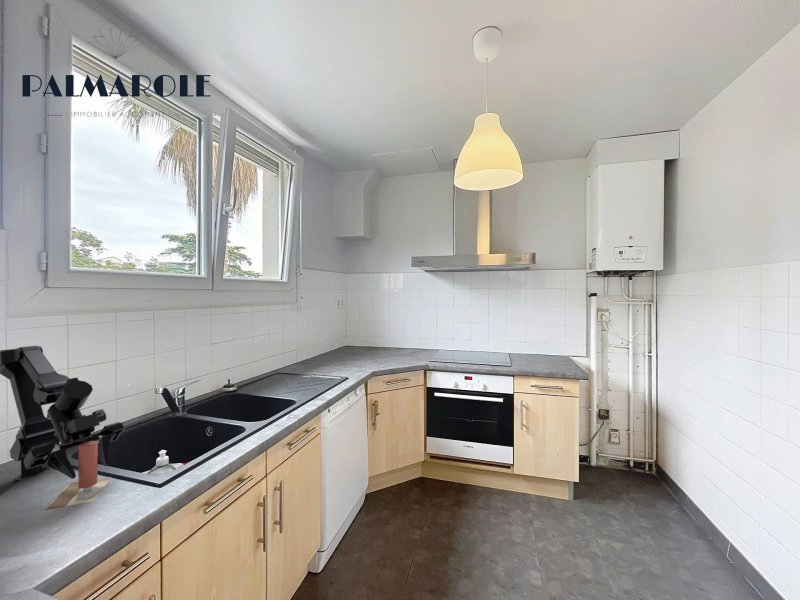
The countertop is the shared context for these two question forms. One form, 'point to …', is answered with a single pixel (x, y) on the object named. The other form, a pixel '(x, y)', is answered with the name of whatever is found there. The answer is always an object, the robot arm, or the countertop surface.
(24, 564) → the countertop surface
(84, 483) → the pink cylinder white base
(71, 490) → the board
